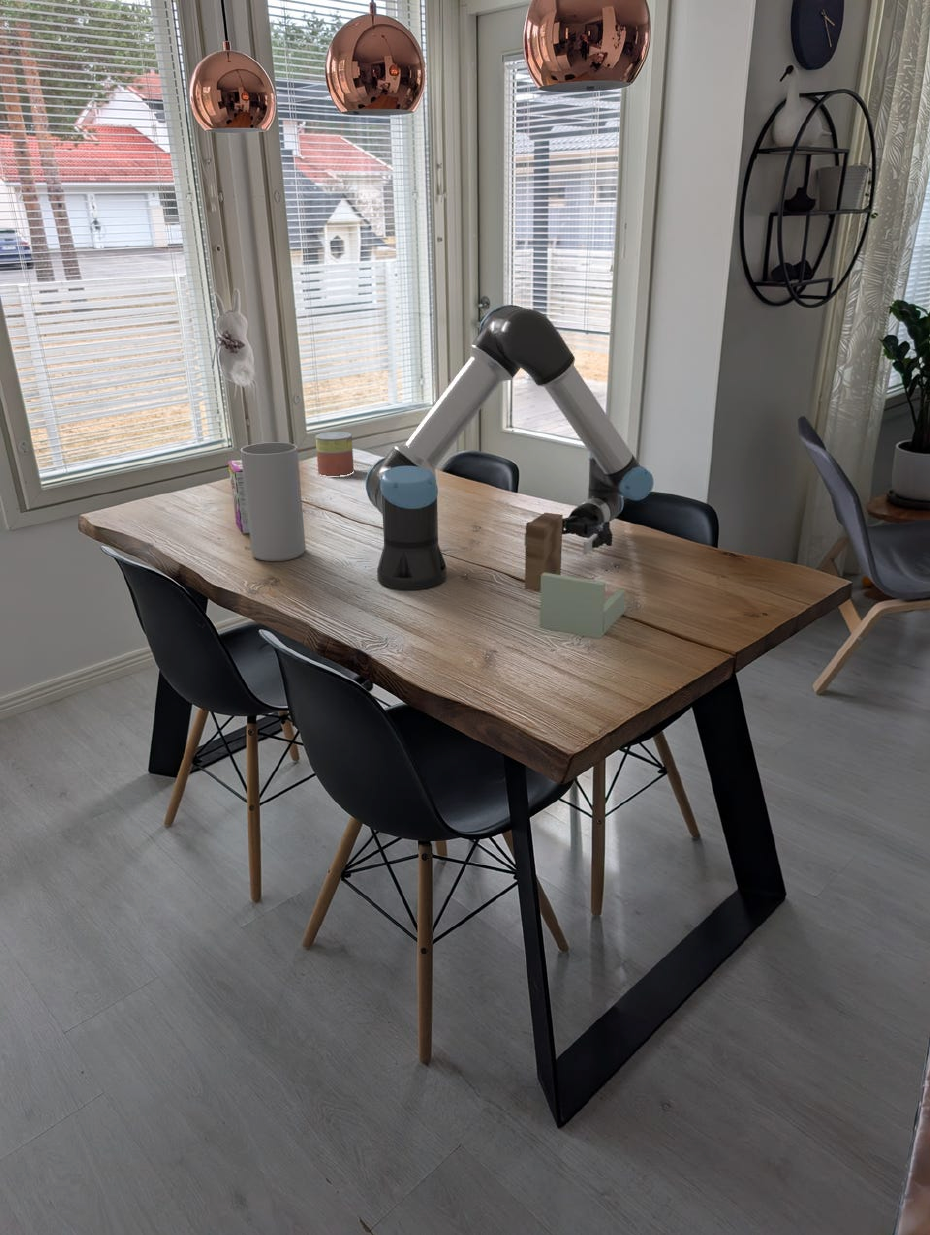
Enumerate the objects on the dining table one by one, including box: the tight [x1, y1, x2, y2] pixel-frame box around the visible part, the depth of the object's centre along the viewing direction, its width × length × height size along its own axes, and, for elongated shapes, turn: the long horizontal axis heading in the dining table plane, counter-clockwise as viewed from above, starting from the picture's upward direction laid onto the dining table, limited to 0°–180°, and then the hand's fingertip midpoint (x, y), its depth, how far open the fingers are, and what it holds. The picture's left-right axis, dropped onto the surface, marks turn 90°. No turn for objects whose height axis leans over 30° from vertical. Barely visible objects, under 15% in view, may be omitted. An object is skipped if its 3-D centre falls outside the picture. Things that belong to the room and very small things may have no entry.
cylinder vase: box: [240, 441, 307, 562], centre depth 209 cm, size 12×12×25 cm
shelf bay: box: [539, 573, 628, 640], centre depth 174 cm, size 16×12×11 cm
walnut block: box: [524, 512, 564, 592], centre depth 191 cm, size 10×4×14 cm, turn 152°
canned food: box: [314, 431, 355, 476], centre depth 282 cm, size 11×11×12 cm
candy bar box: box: [228, 459, 250, 535], centre depth 229 cm, size 11×5×16 cm, turn 22°
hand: (555, 544), depth 195 cm, fingers open, 13 cm apart
